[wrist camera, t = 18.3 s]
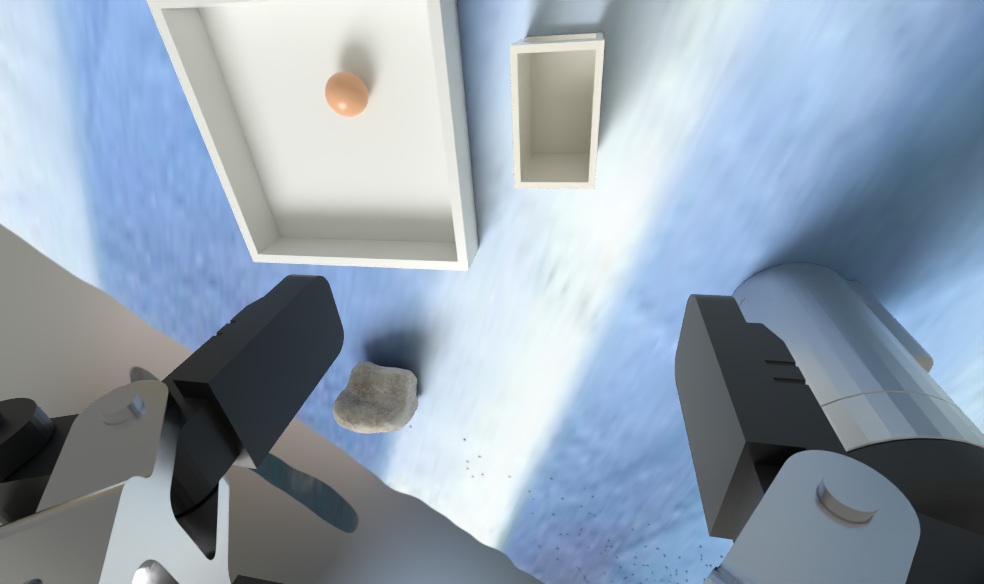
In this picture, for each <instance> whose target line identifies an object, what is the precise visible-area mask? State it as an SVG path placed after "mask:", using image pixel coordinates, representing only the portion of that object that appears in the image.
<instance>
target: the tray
mask: <svg viewBox="0 0 984 584" xmlns="http://www.w3.org/2000/svg"><path fill="white" fill-rule="evenodd" d="M147 2H148V5H149V7H150V10H151V12H152V15H153V17H154V20H155V22H156V24H157V27H158V29H159V32H160V34H161V37H162V39H163V42H164V44H165V46H166V49H167V51H168V54H169V56H170V59H171V61H172V64H173V66H174V68H175V71H176V73H177V76H178V78H179V81H180V83H181V86H182V88H183V90H184V93H185V95H186V98H187V100H188V103H189V105H190V108H191V110H192V112H193V115H194V117H195V120H196V122H197V125H198V127H199V130H200V132H201V134H202V137H203V139H204V142H205V144H206V147H207V149H208V152H209V154H210V157H211V159H212V161H213V164H214V166H215V169H216V171H217V174H218V176H219V179H220V181H221V183H222V186H223V188H224V191H225V193H226V196H227V198H228V201H229V203H230V205H231V208H232V210H233V213H234V215H235V218H236V220H237V223H238V225H239V227H240V230H241V232H242V235H243V237H244V240H245V242H246V245H247V247H248V249H249V252H250V254H251V257H252V259H253V262H268V263H292V264H316V265H340V266H365V267H389V268H413V269H437V270H461V271H469V269H470V266H471V264H472V262H473V260H474V258H475V255H476V253H477V251H478V249H479V245H478V234H477V222H476V211H475V200H474V189H473V177H472V166H471V155H470V144H469V133H468V121H467V110H466V99H465V88H464V77H463V65H462V54H461V43H460V32H459V21H458V9H457V0H147ZM338 72H350V73H353V74H355V75H356V76H358V77H359V78H360V79H361V80H362V81H363V82H364V84H365V85H366V87H367V90H368V104H367V106H366V108H365V110H364V111H363V112H362V113H361V114H359V115H357V116H354V117H345V116H342V115H339V114H337V113H336V112H335V111H334V110H332V108H331V107H330V106H329V104H328V102H327V100H326V97H325V86H326V83H327V81H328V79H329V78H330V77H331V76H332V75H334V74H335V73H338Z"/></svg>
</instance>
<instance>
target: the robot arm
mask: <svg viewBox="0 0 984 584" xmlns="http://www.w3.org/2000/svg"><path fill="white" fill-rule="evenodd" d="M230 321H231V322H230V324H228V323H227V324H226V325H225V326H224V327H222V328H221V329H220V330H219V331H218V332H217V335H216V336H212V337H211V338H210V339H209V340H208V341H207V342H206V343H204V344H203V345H202V346H201V347H200V348H199V349H198V350H196V351H195V352H194V353H193V354H192V355H191V356H190V357H189V358H188V359H186V360H185V361H184V362H183V363H182V364H181V365H179V366H178V367H177V368H176V369H175V370H174V371H173V372H172V373H170V374H169V375H168V376H167V377H166V378H165V379H164V380H163V381H157V380H143V381H137V382H133V383H130V384H127V385H124V386H121V387H119V388H116V389H114V390H112V391H110V392H108V393H106V394H104V395H103V396H101V397H99V398H98V399H96V400H95V401H94V402H92V403H91V404H90V405H88V406H87V407H86V408H85V409H84V410H83V411H82V412H81V413H80V414H76V415H70V416H63V417H56V418H49V417H48V416H47V415H46V414H45V413H44V412H43V411H42V410H41V408H40V407H39V406H38V405H37V404H36V403H35V402H34V401H33V400H31V399H28V398H15V399H10V400H5V401H1V402H0V522H1V523H2V524H3V525H1V526H0V584H231V583H230V579H229V574H228V523H229V483H228V480H227V478H226V477H225V475H224V474H225V473H226V472H227V471H228V469H229V468H230V467H231V465H235V466H242V467H249V468H255V469H257V468H258V466H259V465H260V464H261V462H262V461H263V459H264V458H265V457H266V455H267V454H268V452H269V451H270V450H271V448H272V447H273V445H274V444H275V443H276V441H277V440H278V438H279V437H280V436H281V434H282V433H283V432H284V430H285V429H286V427H287V426H288V425H289V423H290V422H291V420H292V419H293V418H294V416H295V415H296V413H297V412H298V411H299V409H300V408H301V406H302V405H303V404H304V402H305V401H306V399H307V398H308V397H309V395H310V394H311V392H312V391H313V390H314V388H315V387H316V385H317V384H318V383H319V381H320V380H321V379H322V377H323V376H324V374H325V373H326V372H327V370H328V369H329V367H330V366H331V365H332V363H333V362H334V360H335V359H336V358H337V356H338V355H339V353H340V351H341V349H342V345H343V340H344V331H343V327H342V323H341V320H340V317H339V314H338V311H337V307H336V304H335V301H334V298H333V295H332V291H331V288H330V285H329V283H328V281H327V280H326V278H324V277H323V276H314V275H288V276H287V277H285V278H284V279H283V280H282V281H281V282H280V283H279V284H277V285H276V286H275V287H274V288H273V289H272V290H271V291H270V292H269V293H267V294H266V295H265V296H264V297H262V298H260V299H259V300H257V301H255V302H253V303H251V304H250V305H248V306H246V307H245V308H244V309H243V310H242V311H241V312H239V313H238V314H237V315H236V316H235V317H234V318H233V319H232V320H230ZM932 366H933V359H932V357H931V356H930V355H929V354H928V353H927V352H926V351H925V349H924V348H923V347H922V346H921V345H920V344H919V343H918V342H917V341H916V340H915V339H914V338H913V337H912V336H911V335H910V334H909V333H908V332H907V331H906V330H905V329H904V327H903V326H902V325H901V324H900V323H899V322H898V321H897V320H896V319H895V318H894V317H893V316H892V315H891V314H890V313H889V312H888V311H887V310H886V309H885V308H884V306H883V305H882V304H881V303H880V302H879V301H878V300H877V299H876V298H875V297H874V296H873V295H872V294H871V293H870V292H869V291H868V290H867V289H866V288H865V287H864V286H863V284H862V283H861V282H859V281H848V280H845V279H844V278H842V277H841V276H840V275H838V274H837V273H836V272H835V271H833V270H831V269H829V268H826V267H824V266H821V265H817V264H812V263H788V264H781V265H778V266H774V267H771V268H768V269H765V270H763V271H761V272H759V273H757V274H755V275H753V276H752V277H750V278H749V279H747V280H746V281H744V282H743V283H742V284H741V285H740V286H739V287H738V288H737V289H736V290H735V292H734V293H733V294H732V296H720V295H698V294H691V295H690V297H689V299H688V301H687V305H686V310H685V314H684V319H683V323H682V328H681V333H680V337H679V342H678V347H677V351H676V358H675V380H676V386H677V390H678V395H679V399H680V404H681V409H682V413H683V418H684V422H685V427H686V431H687V436H688V440H689V445H690V450H691V454H692V459H693V463H694V468H695V472H696V477H697V481H698V486H699V491H700V495H701V500H702V504H703V509H704V513H705V518H706V522H707V527H708V532H709V536H712V537H719V538H726V539H733V543H734V544H733V546H732V547H731V549H730V551H729V552H728V554H727V555H726V557H725V559H724V560H723V562H722V563H721V564H720V566H719V567H718V568H717V567H715V568H714V569H713V571H712V572H711V573H710V574H709V576H708V577H707V579H706V580H705V582H704V583H703V584H984V434H983V433H982V432H981V431H980V430H979V429H978V428H977V427H976V426H975V424H974V423H973V422H972V421H971V420H970V419H969V418H968V417H967V416H966V415H965V414H964V413H963V411H962V410H961V409H960V408H959V407H958V406H957V405H956V404H955V403H954V402H953V400H952V399H951V398H950V397H949V396H948V395H947V394H946V393H945V392H944V390H943V389H942V388H941V387H940V386H939V385H938V384H937V383H936V382H935V380H934V379H933V378H932V377H931V376H930V375H929V374H928V373H929V371H930V370H931V368H932ZM233 584H281V583H277V582H272V581H267V580H262V579H257V578H252V577H247V576H241V575H238V576H237V578H236V579H235V581H234V582H233Z"/></svg>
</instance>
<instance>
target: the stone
mask: <svg viewBox="0 0 984 584" xmlns="http://www.w3.org/2000/svg"><path fill="white" fill-rule="evenodd" d="M416 386H417V377H416V376H415V375H414V374H413V373H412V371H410V370H406V369H400V368H395V367H383V366H379V365H376V364H374V363H372V362H368V361H364V362H360V363H359V364H358V365H356V366H354V368H353V369H352V371H351V375H350V378H349V382H348V385H347V387H346V388H345V389H344V390H343V391H342V392H341V393H340V394H339V396H338V397H337V399H336V400H335V402H334V405H333V414H334V417H335V420H336V421H337V423H338V424H339V425H341V426H342V427H344V428H346V429H349V430H352V431H355V432H358V433H378V432H391V431H394V430H400V429H401V428H403V427H404V426H405V425H406V424H407V423H408V422H409V421H410V420H411V418H412V417H413V415H414V413H415V411H416V409H417V407H418V399H417V397H416V392H417V388H416Z"/></svg>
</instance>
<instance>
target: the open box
mask: <svg viewBox="0 0 984 584" xmlns="http://www.w3.org/2000/svg"><path fill="white" fill-rule="evenodd" d="M604 43H605V40H604V37H603V33H602V32H600V33H583V34H566V35H550V36H533V37H525V38H523V39H521V40H519V41H517V42H515V43H514V44H512V45H510V68H511V97H512V126H513V155H514V184H515V188H552V189H595V176H596V161H597V146H598V132H599V117H600V102H601V87H602V73H603V58H604Z"/></svg>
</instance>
